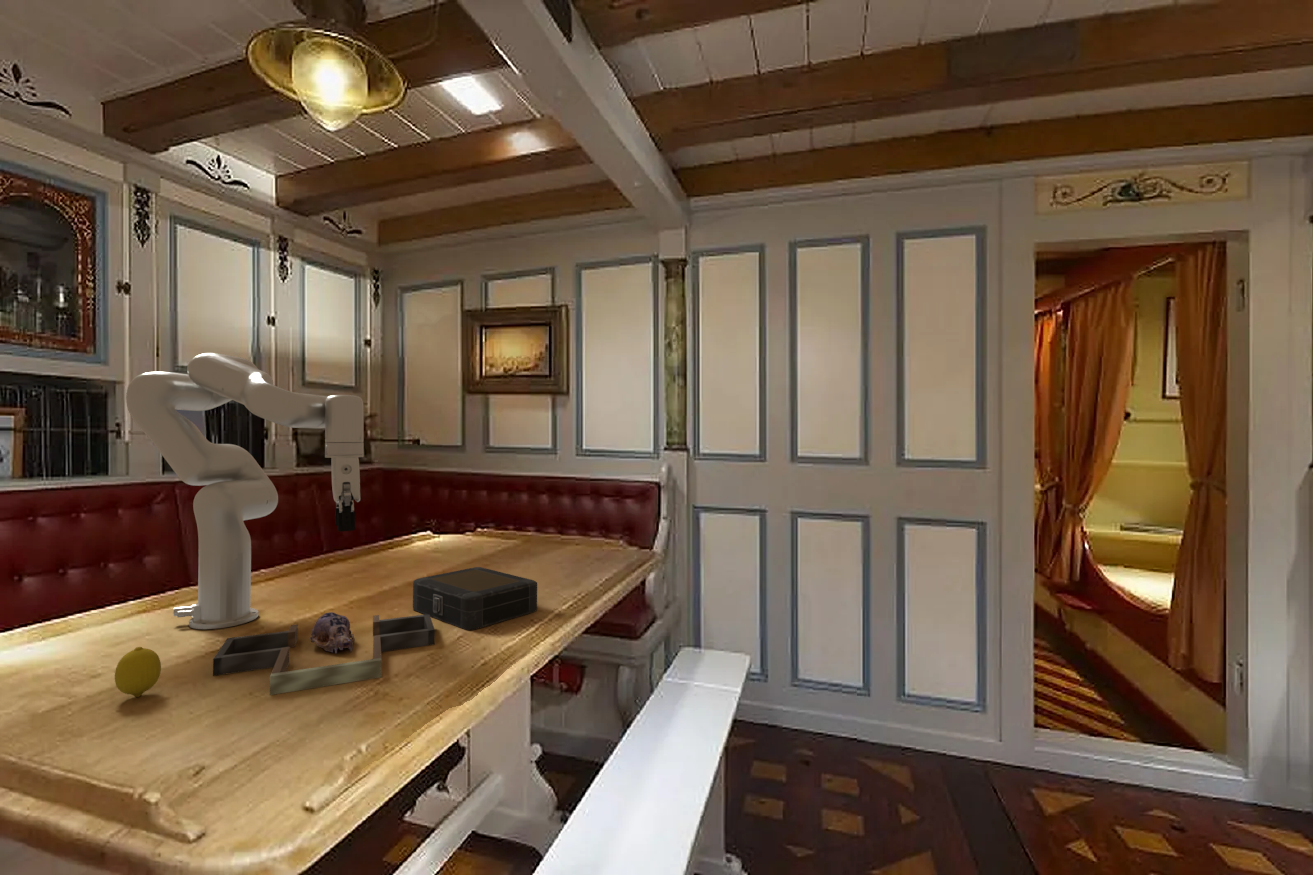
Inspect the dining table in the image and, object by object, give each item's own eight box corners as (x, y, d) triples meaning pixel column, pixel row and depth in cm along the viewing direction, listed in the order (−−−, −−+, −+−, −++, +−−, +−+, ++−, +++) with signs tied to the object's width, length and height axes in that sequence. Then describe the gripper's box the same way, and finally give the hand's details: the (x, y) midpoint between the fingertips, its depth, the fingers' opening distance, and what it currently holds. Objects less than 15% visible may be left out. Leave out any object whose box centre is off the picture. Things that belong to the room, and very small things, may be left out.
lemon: (168, 692, 94) (169, 643, 94) (128, 707, 89) (129, 655, 89) (146, 687, 96) (147, 639, 96) (105, 701, 91) (106, 650, 91)
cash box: (407, 611, 140) (407, 579, 140) (479, 594, 156) (479, 565, 156) (467, 633, 124) (467, 598, 124) (539, 612, 140) (540, 580, 140)
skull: (362, 652, 112) (362, 621, 112) (317, 661, 108) (317, 629, 108) (349, 635, 122) (349, 606, 122) (307, 643, 117) (307, 613, 117)
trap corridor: (192, 707, 89) (192, 687, 89) (231, 647, 114) (231, 631, 114) (441, 667, 105) (441, 651, 105) (427, 622, 130) (427, 609, 130)
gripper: (367, 451, 122) (367, 531, 122) (359, 450, 136) (360, 521, 136) (326, 451, 118) (327, 535, 118) (323, 450, 132) (323, 524, 132)
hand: (344, 527), depth 127 cm, fingers open, 9 cm apart
